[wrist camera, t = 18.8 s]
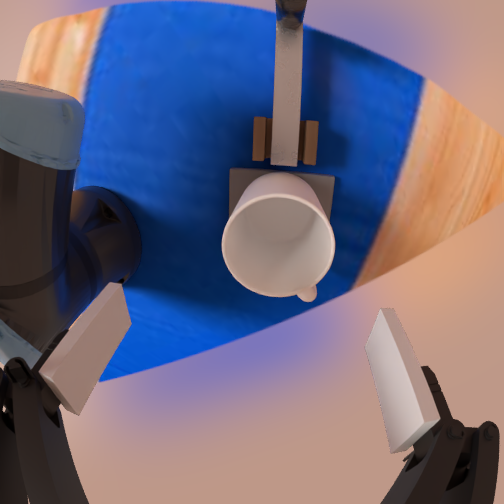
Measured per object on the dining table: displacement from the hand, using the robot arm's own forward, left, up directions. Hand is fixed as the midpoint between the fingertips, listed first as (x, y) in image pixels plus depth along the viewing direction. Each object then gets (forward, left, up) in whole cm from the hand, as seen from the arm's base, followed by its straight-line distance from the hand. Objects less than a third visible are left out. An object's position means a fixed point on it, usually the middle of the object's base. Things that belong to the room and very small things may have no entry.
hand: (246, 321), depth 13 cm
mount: (+1, +8, -19) cm, 21 cm away
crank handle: (+1, +13, -17) cm, 21 cm away
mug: (+2, -1, -18) cm, 18 cm away
